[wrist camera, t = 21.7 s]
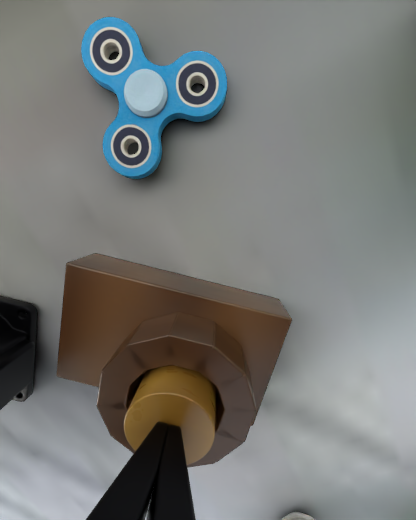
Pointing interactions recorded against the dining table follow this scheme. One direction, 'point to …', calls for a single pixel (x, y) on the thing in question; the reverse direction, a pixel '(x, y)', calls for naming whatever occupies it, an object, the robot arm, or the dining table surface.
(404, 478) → the dining table surface
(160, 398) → the button
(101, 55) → the toy
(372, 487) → the dining table surface
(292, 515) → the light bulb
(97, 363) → the button box
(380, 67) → the dining table surface
